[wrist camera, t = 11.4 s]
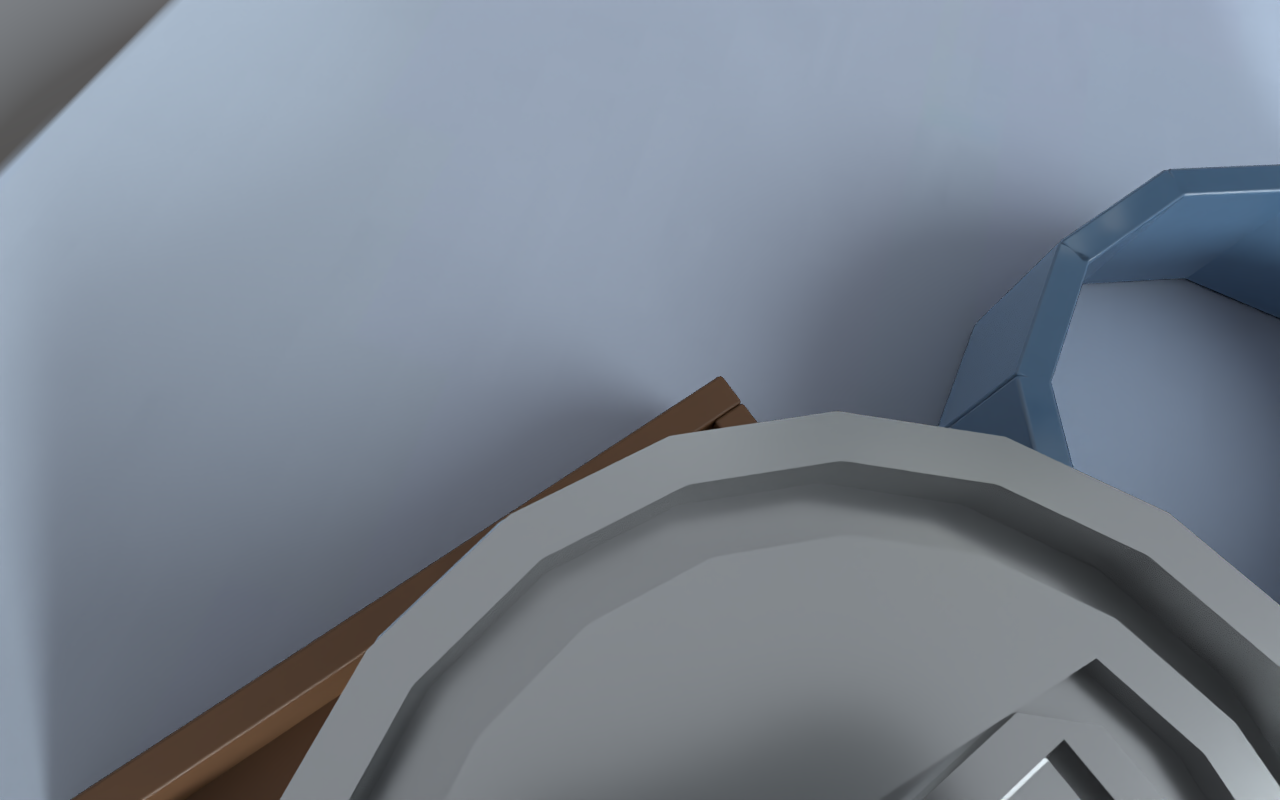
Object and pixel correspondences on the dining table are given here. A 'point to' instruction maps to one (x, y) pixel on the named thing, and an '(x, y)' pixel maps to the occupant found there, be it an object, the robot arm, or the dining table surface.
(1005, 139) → the dining table surface
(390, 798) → the beer can
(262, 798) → the tray
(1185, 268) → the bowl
